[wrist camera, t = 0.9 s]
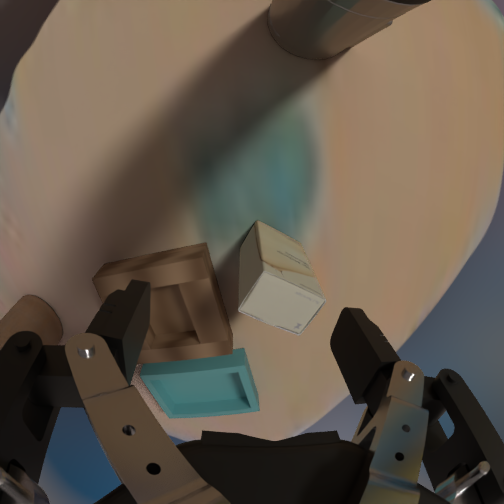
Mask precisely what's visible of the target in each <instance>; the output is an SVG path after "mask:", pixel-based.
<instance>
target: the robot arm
mask: <svg viewBox="0 0 504 504" xmlns="http://www.w3.org/2000/svg"><path fill="white" fill-rule="evenodd" d="M429 1H431V0H272V3H271V5H270V8H269V13H268V19H267V20H268V27H269V30H270V33H271V35H272V36H273V38H274V39H275V41H276V42H277V43H278V44H279V45H280V46H281V47H282V48H284V49H285V50H287V51H288V52H290V53H292V54H294V55H296V56H299V57H302V58H306V59H314V60H316V59H325V58H329V57H332V56H334V55H336V54H338V53H339V52H341V51H342V50H344V49H346V48H347V47H354V46H355V45H357V44H359V43H360V42H362V41H364V40H365V39H367V38H369V37H371V36H372V35H374V34H376V33H378V32H379V31H381V30H383V29H385V28H387V27H388V26H390V25H391V24H392V22H393V20H394V19H395V18H397V17H399V16H401V15H403V14H405V13H406V12H408V11H410V10H412V9H414V8H416V7H418V6H420V5H422V4H424V3H426V2H429ZM150 298H151V284H150V282H146V281H140V280H134V279H132V280H131V281H130V283H129V284H128V286H127V288H126V289H125V290H119V289H117V290H116V291H114V292H112V293H111V294H109V295H108V297H107V298H106V300H105V301H104V303H103V304H102V306H101V308H100V309H99V311H98V312H97V314H96V316H95V317H94V319H93V320H92V322H91V324H90V325H89V327H88V329H87V330H86V332H85V333H81V334H77V335H75V336H73V337H71V338H70V339H69V340H68V341H67V343H66V345H61V346H59V345H43V343H42V340H41V337H40V336H39V335H38V334H36V333H35V332H32V331H20V332H17V333H15V334H13V335H12V336H11V337H9V339H8V340H7V341H6V343H5V344H4V346H3V347H2V349H1V350H0V504H50V503H49V499H48V496H47V495H46V493H45V491H44V490H43V489H42V488H41V487H40V486H39V485H38V482H39V478H40V474H41V470H42V466H43V462H44V458H45V455H46V451H47V448H48V445H49V441H50V438H51V435H52V432H53V429H54V426H55V423H56V420H57V417H58V414H59V411H60V408H61V407H83V408H84V410H85V412H86V414H87V416H88V419H89V421H90V424H91V425H92V428H93V430H94V432H95V434H96V436H97V438H98V440H99V442H100V445H101V447H102V449H103V450H104V453H105V454H106V456H107V458H108V460H109V462H110V464H111V466H112V468H113V469H114V471H115V473H116V475H117V476H118V478H119V480H120V481H121V483H122V484H121V485H120V486H118V487H117V488H116V489H114V490H113V491H111V492H110V493H109V494H107V495H106V496H104V497H103V498H101V499H100V500H98V501H97V502H95V503H94V504H504V444H503V442H502V440H501V438H500V436H499V435H498V433H497V431H496V430H495V428H494V426H493V425H492V423H491V421H490V420H489V418H488V416H487V415H486V413H485V412H484V410H483V409H482V407H481V406H480V404H479V402H478V401H477V399H476V398H475V396H474V395H473V393H472V392H471V390H470V389H469V387H468V386H467V385H466V383H465V382H464V380H463V379H462V377H461V376H460V375H459V374H458V373H456V372H455V371H453V370H451V369H442V370H441V371H440V372H439V374H438V375H437V376H436V378H433V377H427V376H424V374H423V372H422V371H421V369H420V368H419V367H418V366H416V365H415V364H413V363H411V362H409V361H401V359H400V358H399V356H398V355H397V354H396V352H395V351H394V349H393V348H392V346H391V345H390V343H389V342H388V340H387V339H386V337H385V336H383V335H384V334H383V333H382V332H381V330H380V329H379V327H378V326H376V325H375V324H374V323H373V322H372V321H370V320H369V319H368V317H367V316H366V314H365V313H364V311H363V310H362V309H360V308H348V307H345V308H344V309H343V310H342V311H341V314H340V316H339V319H338V321H337V324H336V326H335V328H334V331H333V333H332V336H331V340H330V347H331V350H332V352H333V355H334V357H335V359H336V361H337V364H338V366H339V368H340V371H341V373H342V375H343V377H344V380H345V382H346V384H347V387H348V389H349V391H350V394H351V396H352V398H353V401H354V403H355V404H363V403H367V407H366V409H365V410H364V412H363V415H362V417H361V420H360V422H359V425H358V427H357V429H356V432H355V434H354V436H353V439H352V441H351V442H349V441H345V440H340V438H339V435H338V433H337V431H328V432H315V433H305V434H302V435H298V436H295V437H291V438H287V439H283V440H279V441H270V440H265V439H260V438H256V437H252V436H247V435H243V434H239V433H226V432H213V431H203V430H202V436H201V440H193V441H189V442H185V443H181V444H178V445H176V446H175V444H174V443H173V442H172V440H171V439H170V438H169V436H168V435H167V434H166V432H165V431H164V429H163V428H162V427H161V425H160V424H159V422H158V421H157V419H156V418H155V416H154V415H153V413H152V412H151V410H150V409H149V407H148V406H147V404H146V403H145V401H144V399H143V398H142V396H141V395H140V393H139V391H138V390H137V389H136V387H135V386H134V385H130V384H131V380H132V377H133V374H134V371H135V367H136V364H137V361H138V358H139V355H140V352H141V349H142V346H143V343H144V340H145V337H146V334H147V331H148V328H149V323H150ZM445 411H447V412H448V414H449V416H450V418H451V419H452V421H453V423H454V426H455V429H454V433H453V435H452V436H451V437H450V438H449V439H448V438H447V436H446V435H445V433H444V431H443V429H442V427H441V425H440V423H439V421H438V419H439V418H440V417H441V416H442V415H443V414H444V412H445ZM422 461H423V463H424V466H425V468H426V471H427V473H428V476H429V478H430V481H431V483H432V486H433V488H434V491H435V493H433V492H431V491H430V490H428V489H427V488H425V487H423V486H422V485H420V484H419V483H417V481H418V476H419V472H420V467H421V462H422Z"/></svg>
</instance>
